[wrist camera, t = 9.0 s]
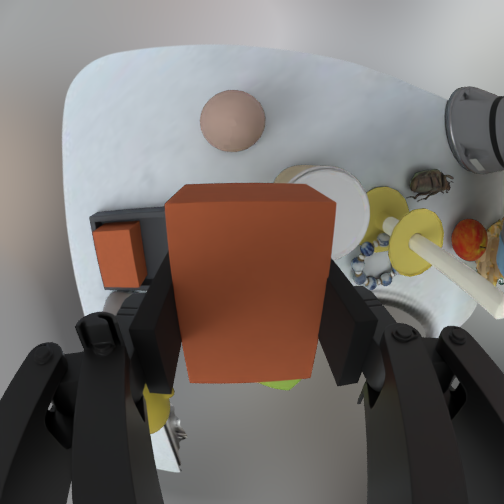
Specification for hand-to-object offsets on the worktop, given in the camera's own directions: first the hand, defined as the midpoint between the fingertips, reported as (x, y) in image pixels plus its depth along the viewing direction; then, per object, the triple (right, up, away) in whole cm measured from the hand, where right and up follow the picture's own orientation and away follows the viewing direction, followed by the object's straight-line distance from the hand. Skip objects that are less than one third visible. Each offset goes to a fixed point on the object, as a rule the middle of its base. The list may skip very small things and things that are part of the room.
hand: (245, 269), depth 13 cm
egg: (-2, +17, +19) cm, 25 cm away
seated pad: (-17, +1, +23) cm, 29 cm away
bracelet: (+19, 0, +26) cm, 32 cm away
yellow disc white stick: (+19, +6, +24) cm, 31 cm away
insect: (+26, +9, +19) cm, 34 cm away
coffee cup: (+7, +8, +22) cm, 25 cm away
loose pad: (0, 0, 0) cm, 0 cm away
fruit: (+36, +4, +26) cm, 45 cm away
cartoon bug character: (+43, +3, +21) cm, 48 cm away
